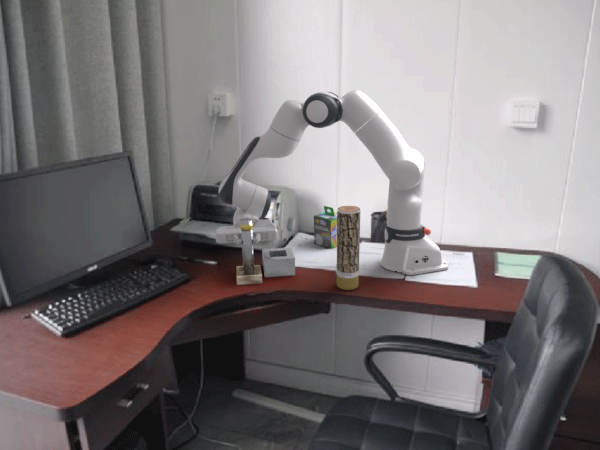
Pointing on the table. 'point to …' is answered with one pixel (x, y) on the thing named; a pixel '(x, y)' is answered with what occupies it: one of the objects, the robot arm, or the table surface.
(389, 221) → the robot arm
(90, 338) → the table surface
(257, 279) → the birch rack
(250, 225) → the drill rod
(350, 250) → the paper tube
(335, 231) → the chalk box
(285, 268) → the socket block
